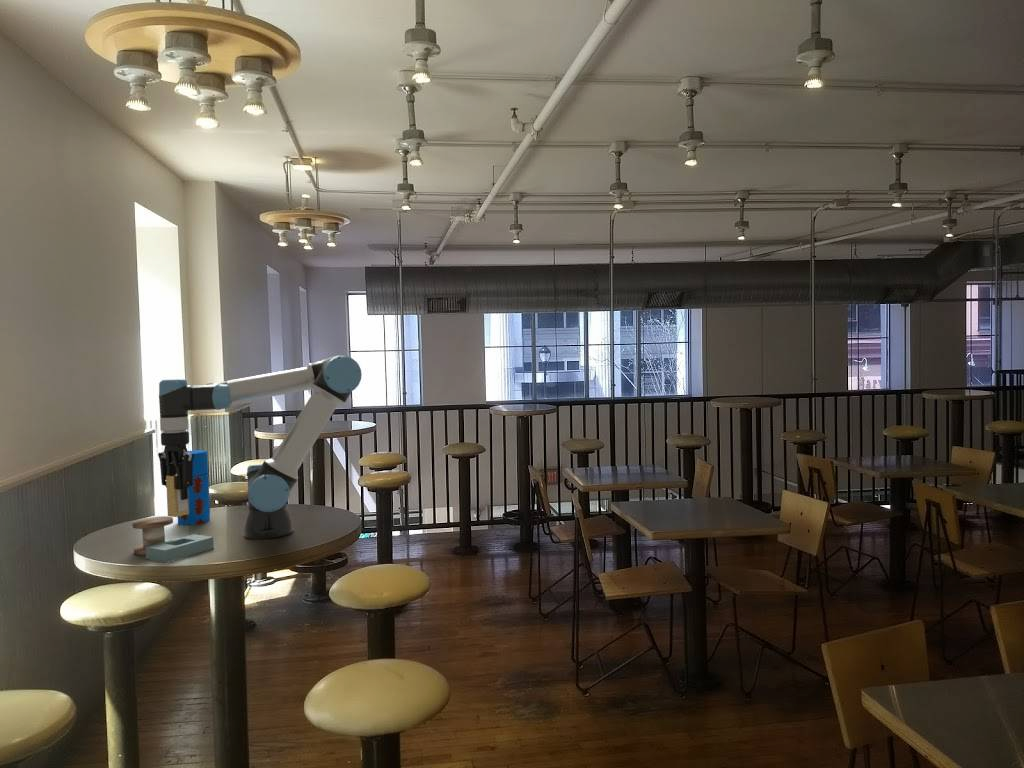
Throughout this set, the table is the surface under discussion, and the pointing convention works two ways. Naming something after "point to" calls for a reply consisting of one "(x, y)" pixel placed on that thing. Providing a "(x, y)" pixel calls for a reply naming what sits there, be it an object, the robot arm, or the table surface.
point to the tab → (173, 497)
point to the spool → (151, 531)
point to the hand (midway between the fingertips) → (178, 509)
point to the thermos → (198, 491)
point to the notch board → (179, 548)
